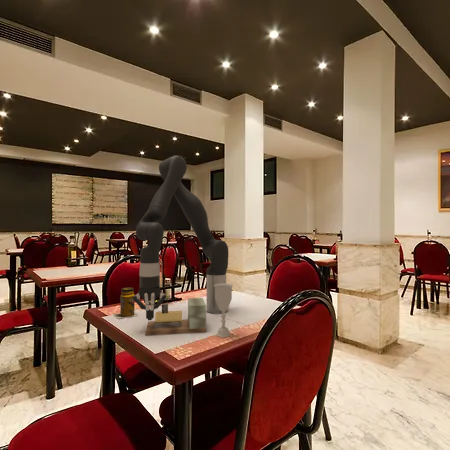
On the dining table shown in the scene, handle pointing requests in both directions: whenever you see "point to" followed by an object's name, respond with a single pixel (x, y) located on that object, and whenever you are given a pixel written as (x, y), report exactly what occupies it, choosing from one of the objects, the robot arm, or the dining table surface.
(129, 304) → the condiment
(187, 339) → the dining table surface
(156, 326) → the brown board with blocks
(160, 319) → the tan box
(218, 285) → the chalice
